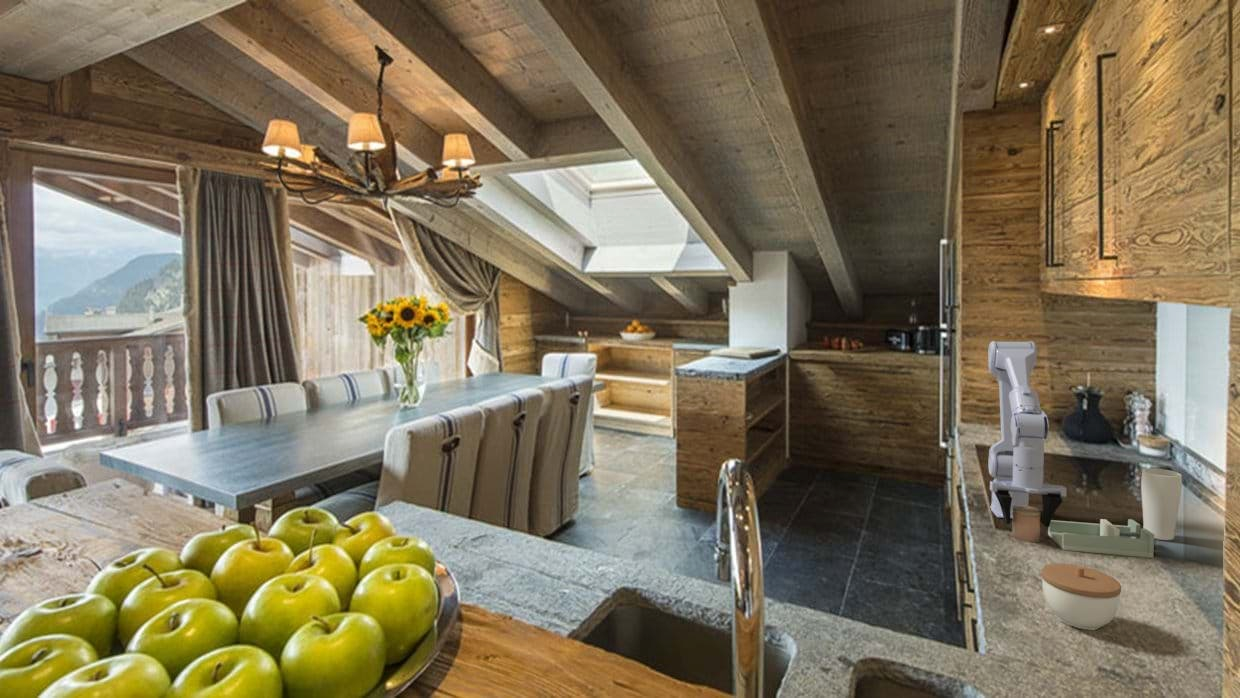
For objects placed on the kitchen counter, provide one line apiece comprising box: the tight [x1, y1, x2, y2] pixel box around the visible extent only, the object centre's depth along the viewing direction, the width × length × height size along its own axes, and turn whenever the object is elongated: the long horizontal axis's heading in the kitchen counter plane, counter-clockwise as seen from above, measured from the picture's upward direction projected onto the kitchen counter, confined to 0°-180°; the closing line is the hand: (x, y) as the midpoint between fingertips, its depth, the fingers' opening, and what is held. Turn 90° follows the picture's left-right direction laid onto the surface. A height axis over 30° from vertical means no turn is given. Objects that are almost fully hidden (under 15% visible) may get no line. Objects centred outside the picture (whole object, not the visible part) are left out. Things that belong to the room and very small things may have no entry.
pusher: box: [1099, 518, 1141, 538], centre depth 130 cm, size 6×8×4 cm
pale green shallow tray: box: [1047, 518, 1155, 559], centre depth 132 cm, size 9×16×5 cm, turn 72°
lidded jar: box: [1040, 563, 1122, 630], centre depth 102 cm, size 11×11×9 cm
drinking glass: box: [1140, 467, 1183, 541], centre depth 135 cm, size 7×7×15 cm
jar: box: [1011, 505, 1042, 543], centre depth 137 cm, size 5×5×7 cm
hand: (1026, 524), depth 137 cm, fingers open, 7 cm apart
